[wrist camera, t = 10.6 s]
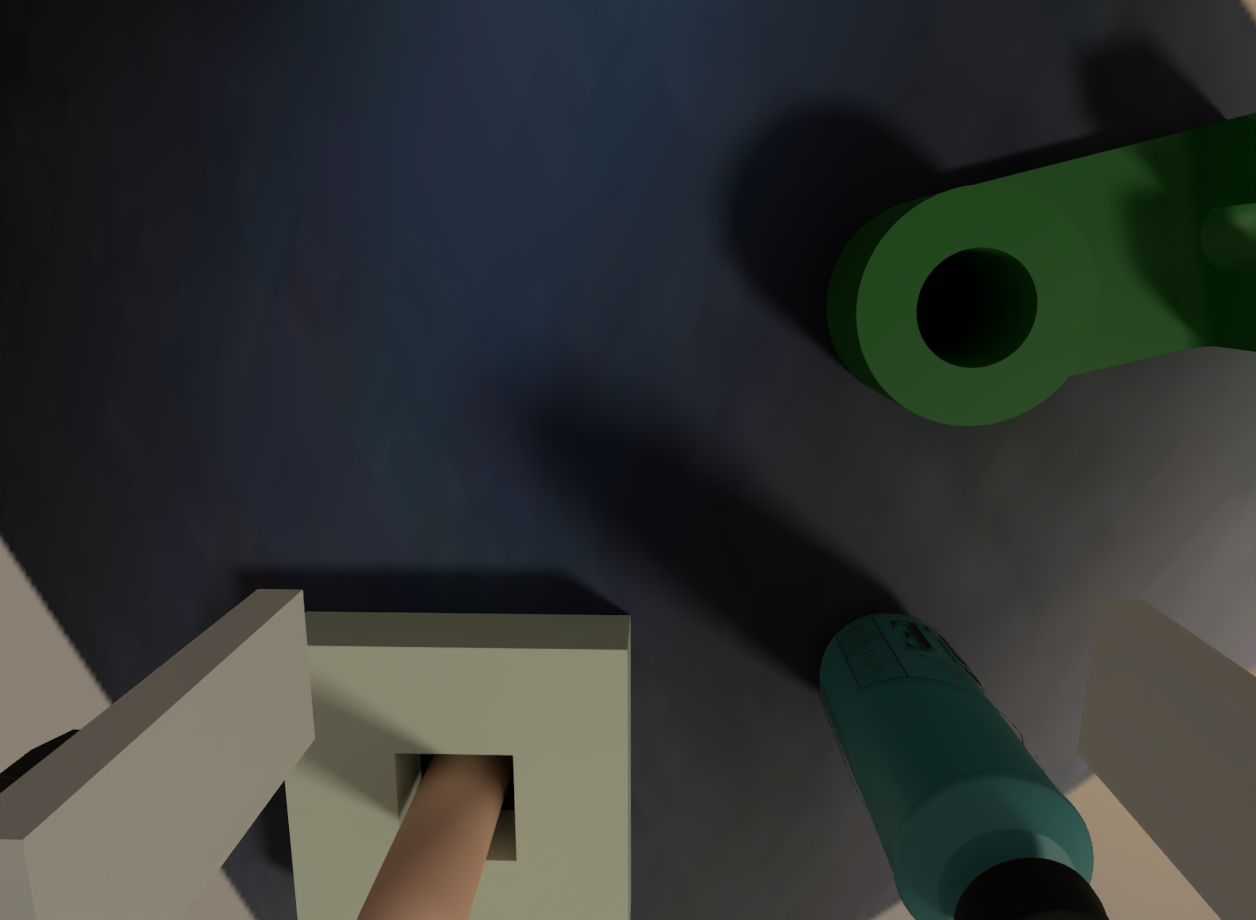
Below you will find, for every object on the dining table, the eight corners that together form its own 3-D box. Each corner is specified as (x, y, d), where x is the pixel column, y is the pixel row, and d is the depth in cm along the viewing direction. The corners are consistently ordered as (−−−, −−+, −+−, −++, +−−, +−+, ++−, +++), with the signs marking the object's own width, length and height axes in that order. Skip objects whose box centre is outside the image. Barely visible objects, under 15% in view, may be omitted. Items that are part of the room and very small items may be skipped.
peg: (433, 724, 44) (352, 886, 33) (511, 725, 44) (458, 889, 33) (437, 794, 45) (359, 978, 34) (514, 796, 45) (463, 981, 33)
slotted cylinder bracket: (846, 421, 41) (879, 449, 34) (807, 227, 39) (835, 218, 33) (1246, 328, 39) (1358, 339, 33) (1225, 121, 37) (1338, 91, 31)
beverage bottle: (801, 712, 44) (914, 1071, 24) (818, 586, 42) (954, 859, 23) (932, 725, 43) (1154, 1096, 24) (954, 599, 42) (1209, 884, 23)
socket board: (307, 611, 43) (271, 645, 39) (630, 615, 43) (627, 649, 39) (330, 893, 47) (300, 950, 43) (631, 901, 46) (628, 959, 42)
